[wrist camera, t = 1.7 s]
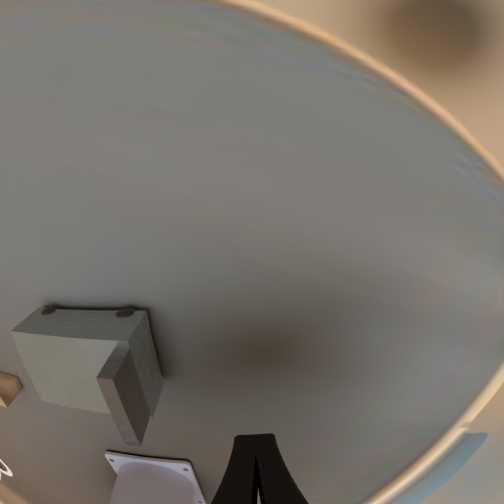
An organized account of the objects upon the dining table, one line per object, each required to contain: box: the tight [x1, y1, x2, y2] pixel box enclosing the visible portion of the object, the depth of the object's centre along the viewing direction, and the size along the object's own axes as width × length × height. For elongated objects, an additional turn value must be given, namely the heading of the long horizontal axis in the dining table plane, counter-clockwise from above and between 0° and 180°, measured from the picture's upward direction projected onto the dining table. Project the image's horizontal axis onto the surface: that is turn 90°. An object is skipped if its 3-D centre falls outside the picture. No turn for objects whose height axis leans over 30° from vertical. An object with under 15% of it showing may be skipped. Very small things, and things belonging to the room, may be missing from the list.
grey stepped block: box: [11, 307, 164, 446], centre depth 14 cm, size 8×6×6 cm
